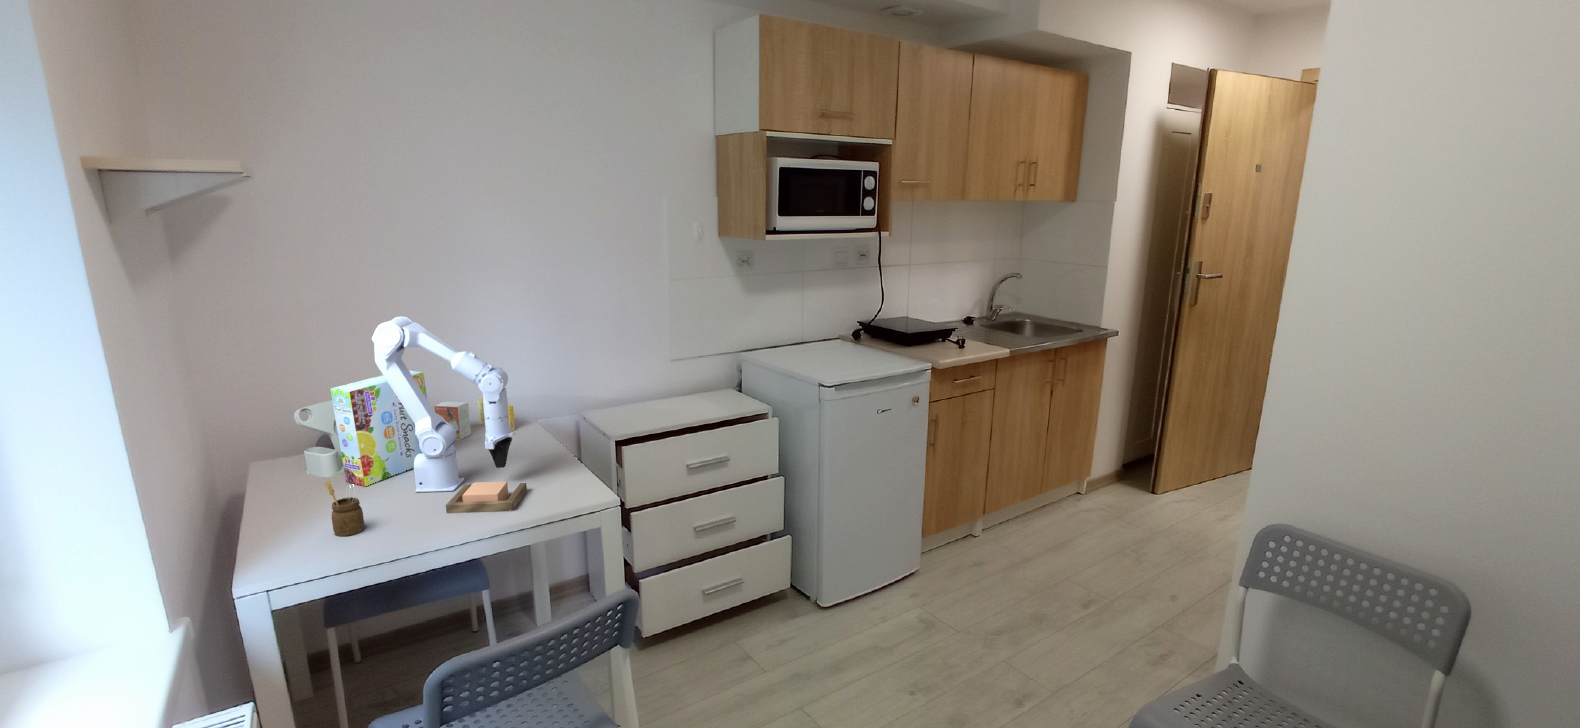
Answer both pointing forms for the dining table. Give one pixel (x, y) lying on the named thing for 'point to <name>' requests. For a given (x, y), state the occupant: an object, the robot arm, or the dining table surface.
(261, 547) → the dining table surface
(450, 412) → the small box
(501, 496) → the carton
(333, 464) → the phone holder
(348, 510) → the utensil holder
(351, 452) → the snack box
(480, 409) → the candy box
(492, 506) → the brown u-shaped wooden frame
